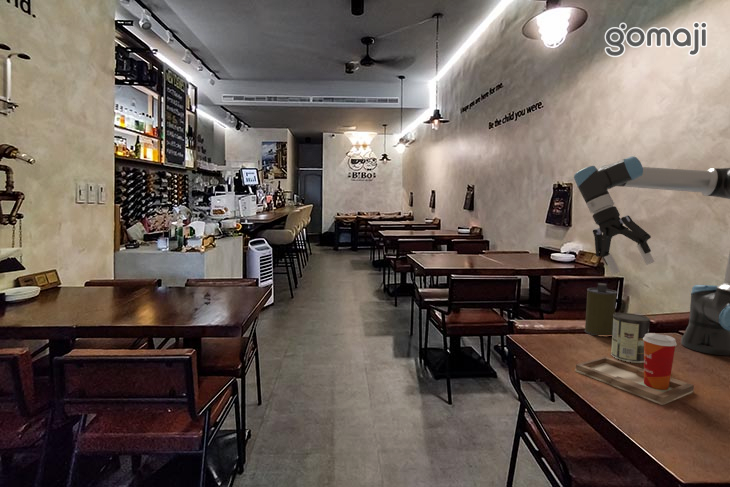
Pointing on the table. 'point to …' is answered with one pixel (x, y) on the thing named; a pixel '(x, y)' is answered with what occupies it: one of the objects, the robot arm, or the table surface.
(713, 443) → the table surface
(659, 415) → the table surface
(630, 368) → the keyhole slot
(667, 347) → the paper cup
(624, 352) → the coffee can
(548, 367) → the table surface
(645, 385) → the seat pad
